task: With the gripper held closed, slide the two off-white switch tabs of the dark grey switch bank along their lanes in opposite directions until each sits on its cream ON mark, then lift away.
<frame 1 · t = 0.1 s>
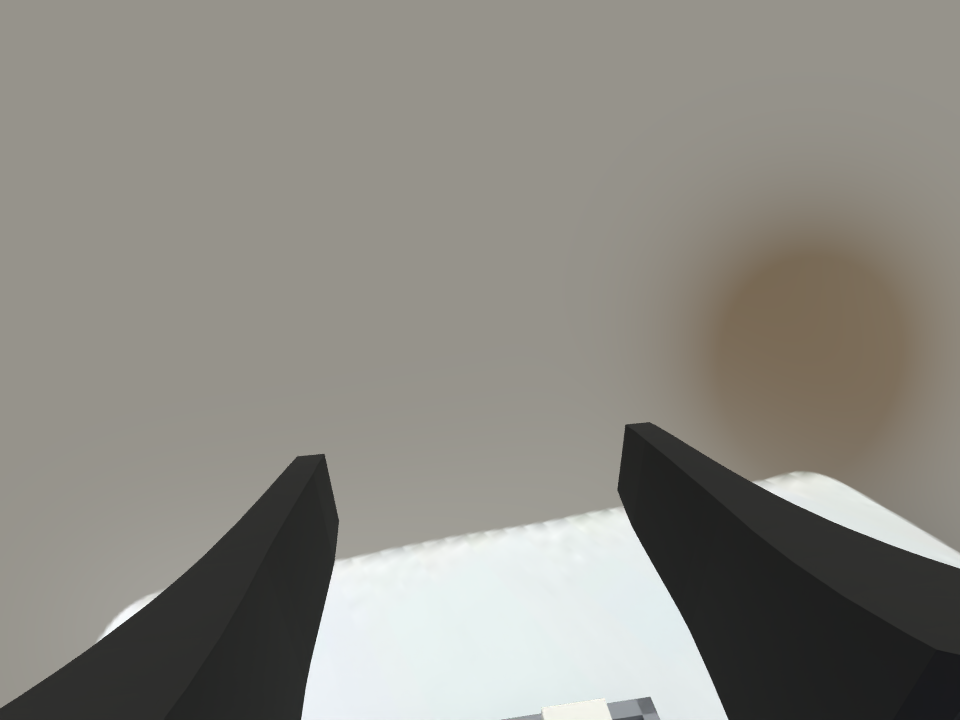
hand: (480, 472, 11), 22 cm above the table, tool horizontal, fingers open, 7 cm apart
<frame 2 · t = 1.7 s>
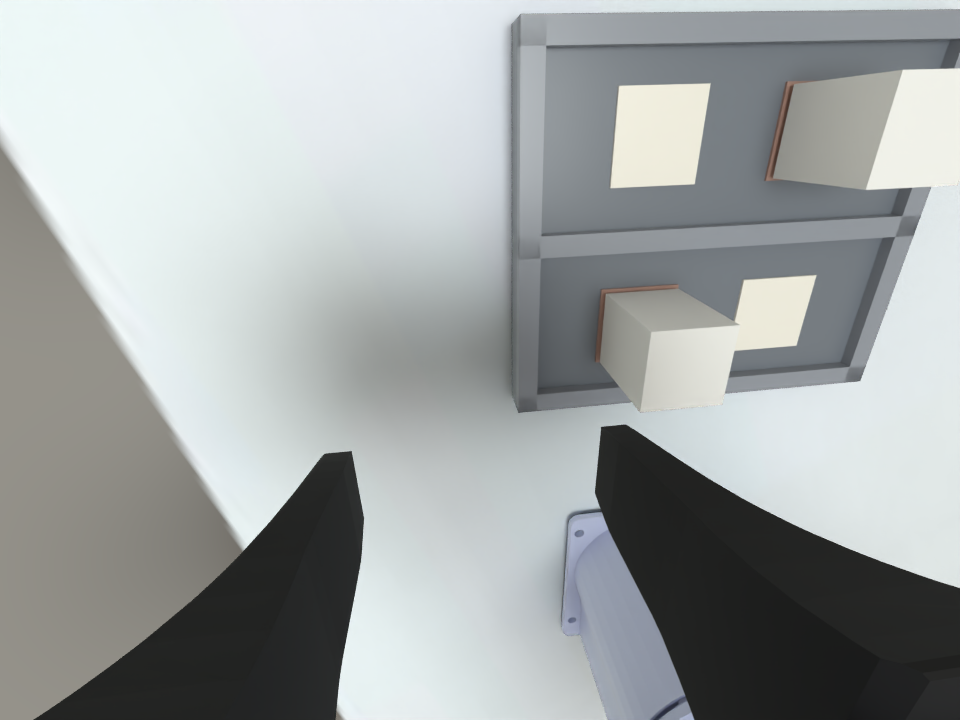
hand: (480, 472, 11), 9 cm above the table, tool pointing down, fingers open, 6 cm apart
tab b: (870, 131, 15), point 3 cm above the table, slide at 0.0 cm
switch bank: (705, 229, 19), on the table
tab a: (660, 346, 17), point 3 cm above the table, slide at 0.0 cm
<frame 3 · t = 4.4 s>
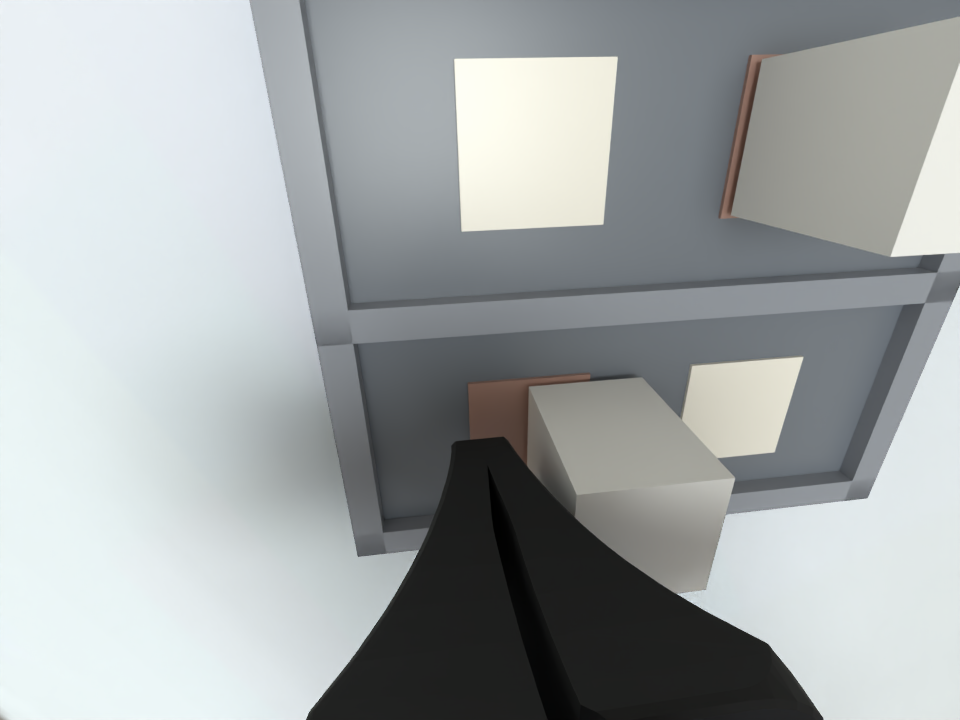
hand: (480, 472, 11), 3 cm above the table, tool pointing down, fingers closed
tab b: (895, 141, 8), point 3 cm above the table, slide at 0.0 cm
switch bank: (633, 288, 13), on the table
tab a: (609, 479, 11), point 3 cm above the table, slide at 1.4 cm, touching gripper
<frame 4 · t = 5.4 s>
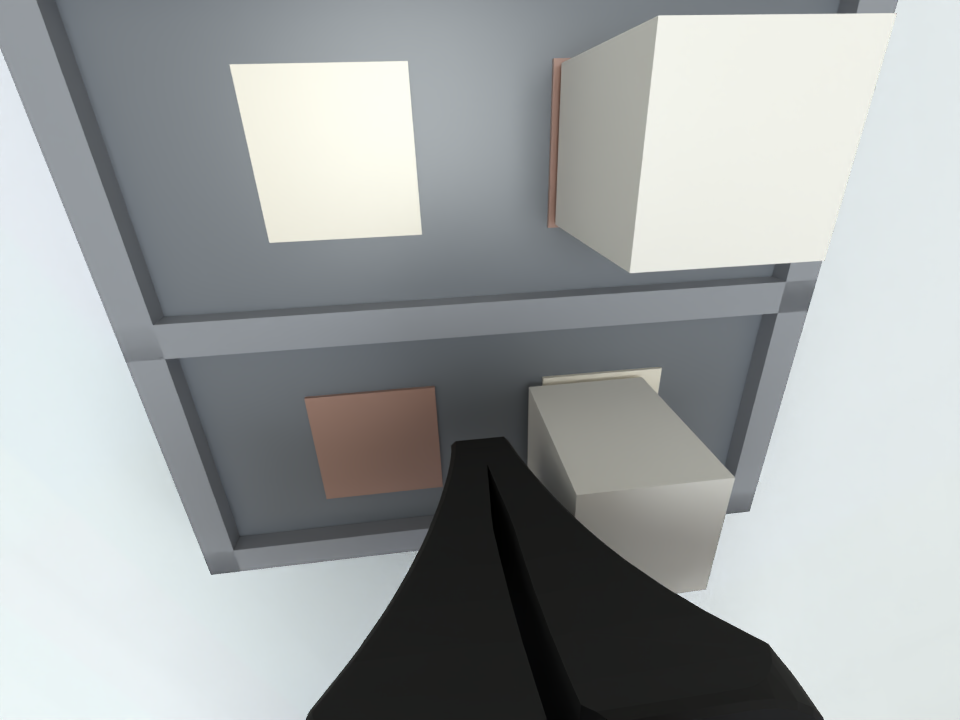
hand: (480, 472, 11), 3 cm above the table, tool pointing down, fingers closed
tab b: (676, 149, 8), point 3 cm above the table, slide at 0.0 cm
switch bank: (482, 298, 12), on the table
tab a: (609, 479, 11), point 3 cm above the table, slide at 5.5 cm, touching gripper
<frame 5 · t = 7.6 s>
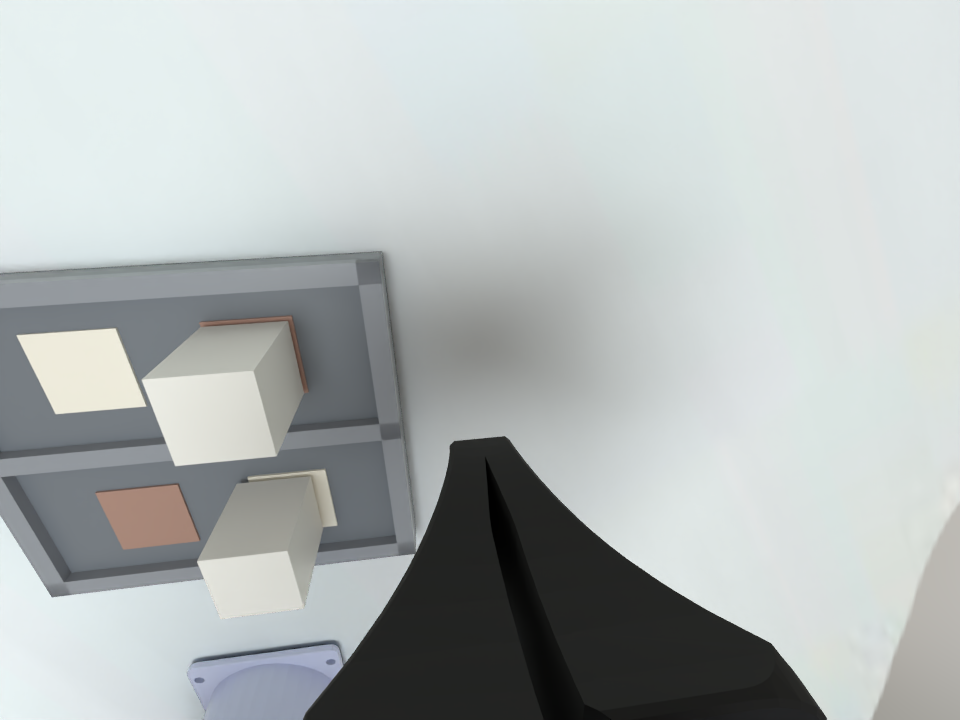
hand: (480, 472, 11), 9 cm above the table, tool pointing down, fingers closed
tab b: (236, 387, 16), point 3 cm above the table, slide at 0.0 cm
switch bank: (210, 428, 20), on the table
tab a: (268, 542, 19), point 3 cm above the table, slide at 5.5 cm
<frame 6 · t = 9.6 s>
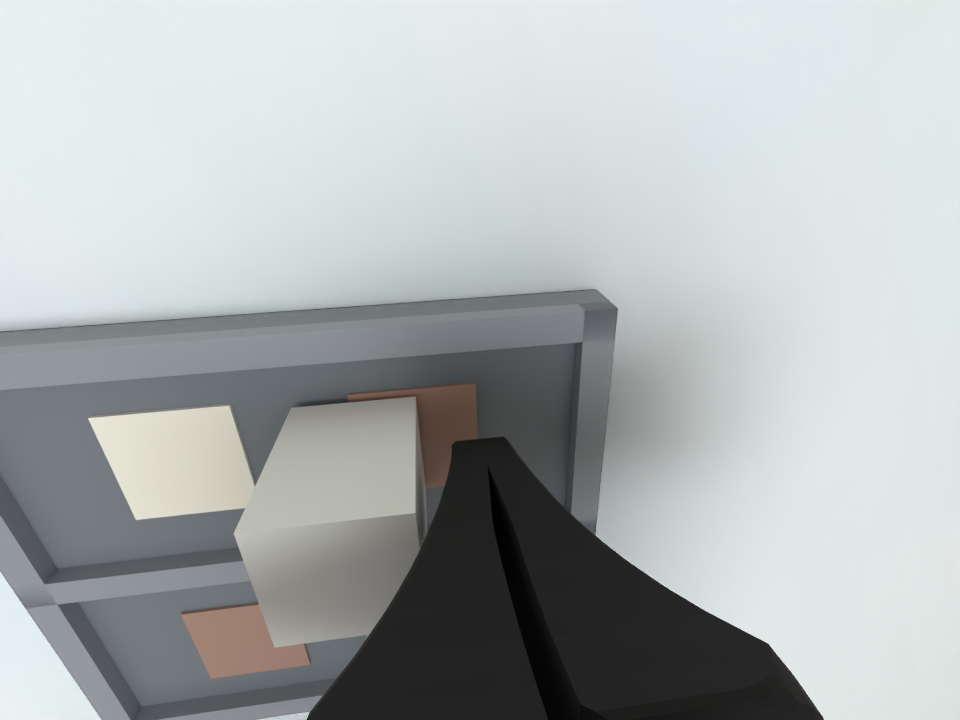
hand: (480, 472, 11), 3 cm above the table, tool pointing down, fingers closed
tab b: (353, 506, 10), point 3 cm above the table, slide at 1.4 cm, touching gripper
switch bank: (331, 522, 15), on the table
tab a: (423, 688, 14), point 3 cm above the table, slide at 5.5 cm
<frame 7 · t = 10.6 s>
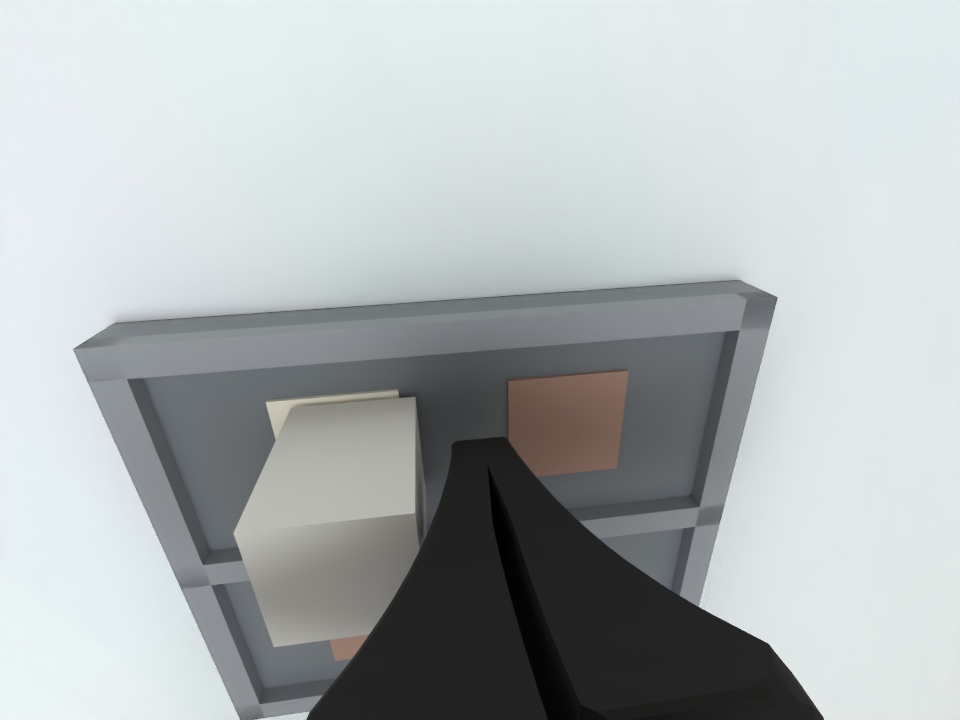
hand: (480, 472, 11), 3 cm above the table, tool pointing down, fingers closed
tab b: (353, 506, 10), point 3 cm above the table, slide at 5.5 cm, touching gripper
switch bank: (460, 508, 15), on the table
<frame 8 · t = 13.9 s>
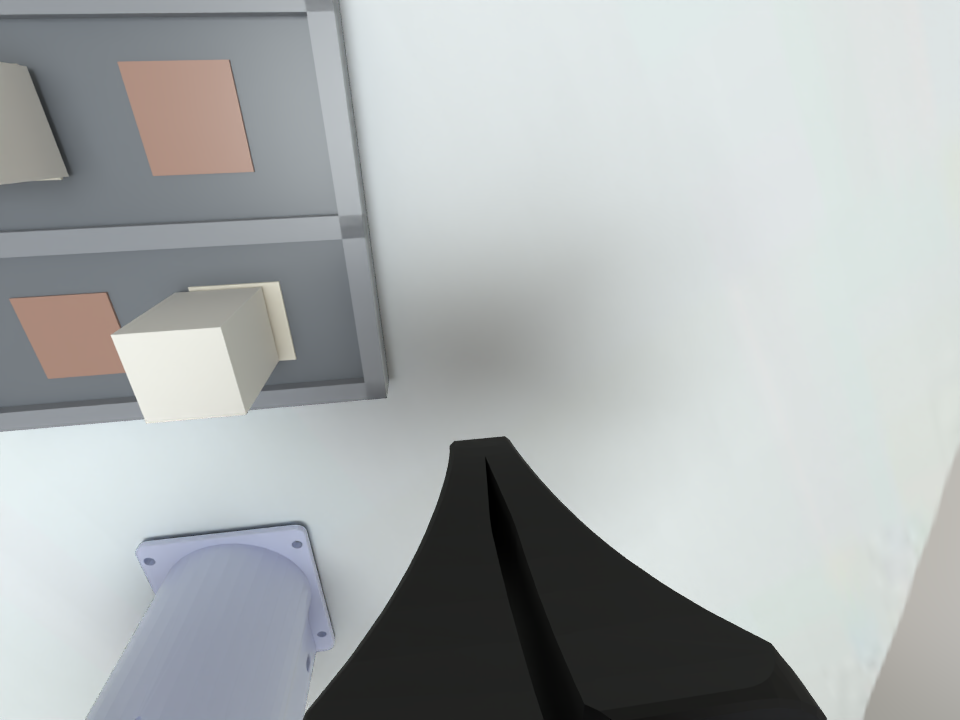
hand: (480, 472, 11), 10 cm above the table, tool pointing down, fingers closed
switch bank: (144, 230, 17), on the table
tab a: (208, 349, 16), point 3 cm above the table, slide at 5.5 cm
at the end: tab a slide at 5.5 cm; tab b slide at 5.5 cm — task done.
